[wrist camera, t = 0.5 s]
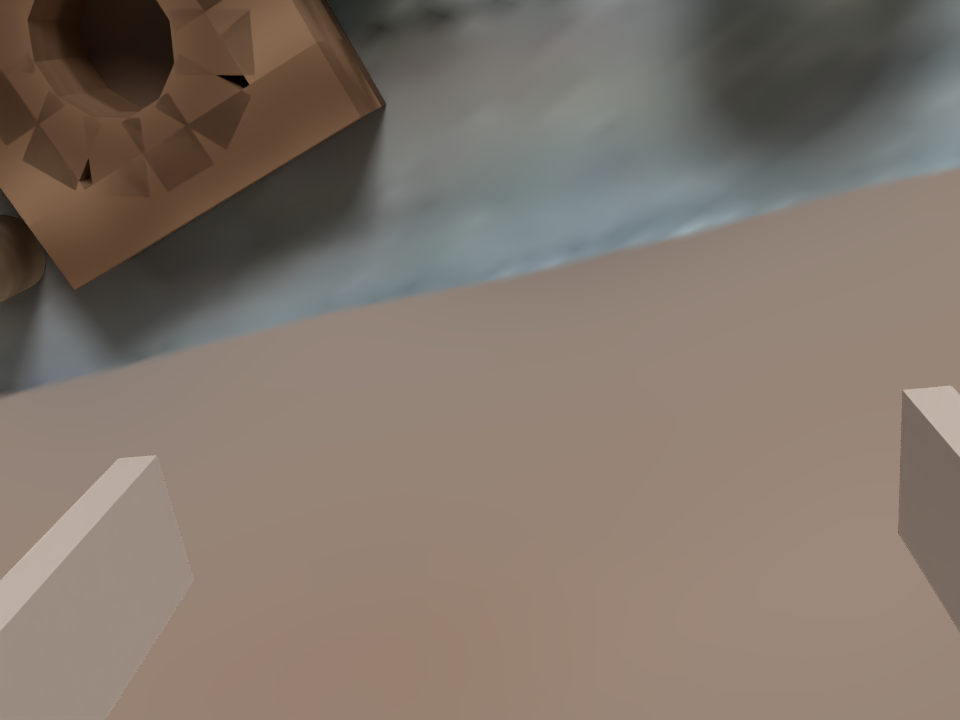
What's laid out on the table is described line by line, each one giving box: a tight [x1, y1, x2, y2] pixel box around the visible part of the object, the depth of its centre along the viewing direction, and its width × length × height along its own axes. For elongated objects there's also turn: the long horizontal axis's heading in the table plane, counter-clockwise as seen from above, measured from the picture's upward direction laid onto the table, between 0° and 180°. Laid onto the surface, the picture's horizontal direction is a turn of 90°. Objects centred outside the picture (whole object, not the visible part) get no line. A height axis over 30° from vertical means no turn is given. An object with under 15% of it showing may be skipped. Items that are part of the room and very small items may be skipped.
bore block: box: [0, 0, 386, 290], centre depth 36 cm, size 14×14×5 cm
